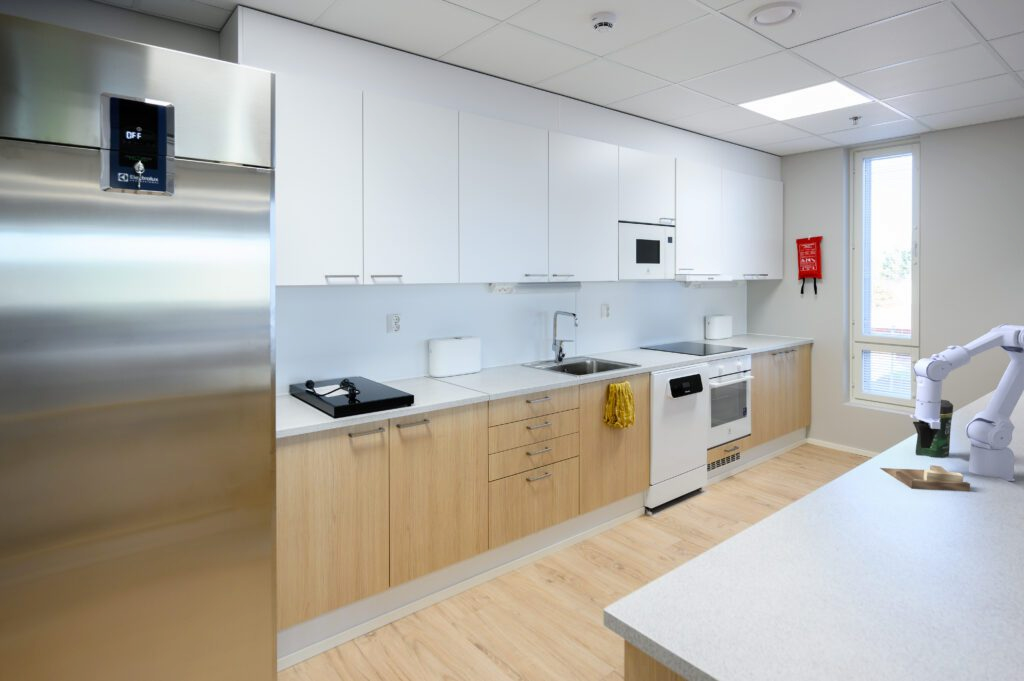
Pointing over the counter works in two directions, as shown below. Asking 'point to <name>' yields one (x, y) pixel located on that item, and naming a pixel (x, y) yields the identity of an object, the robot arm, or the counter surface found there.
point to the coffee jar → (940, 434)
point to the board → (916, 480)
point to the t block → (941, 475)
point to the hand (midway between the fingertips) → (924, 447)
